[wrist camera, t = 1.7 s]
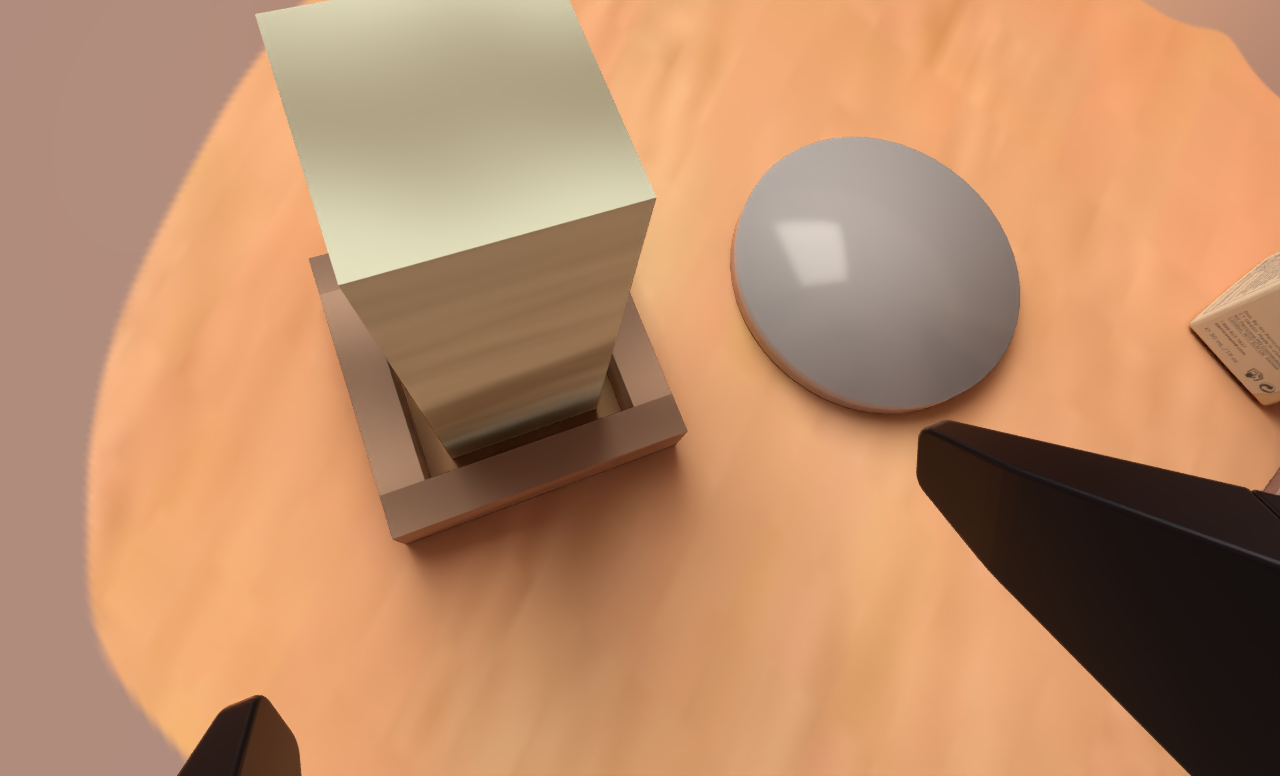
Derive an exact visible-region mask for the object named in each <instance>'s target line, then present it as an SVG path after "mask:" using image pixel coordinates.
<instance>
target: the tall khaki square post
mask: <svg viewBox="0 0 1280 776" xmlns="http://www.w3.org/2000/svg"><path fill="white" fill-rule="evenodd" d="M255 16H256V19H257V22H258V25H259V29H260V32H261V35H262V38H263V42H264V45H265V48H266V51H267V55H268V58H269V61H270V64H271V68H272V71H273V74H274V78H275V81H276V84H277V87H278V91H279V94H280V97H281V100H282V104H283V107H284V110H285V113H286V117H287V120H288V123H289V126H290V130H291V133H292V136H293V139H294V143H295V146H296V149H297V152H298V156H299V159H300V162H301V165H302V169H303V172H304V175H305V179H306V182H307V185H308V188H309V192H310V195H311V198H312V201H313V205H314V208H315V211H316V214H317V218H318V221H319V224H320V227H321V231H322V234H323V237H324V240H325V244H326V247H327V250H328V253H329V257H330V260H331V263H332V266H333V270H334V273H335V276H336V279H337V283H338V286H339V287H340V289H341V290H342V292H343V293H344V295H345V296H346V298H347V299H348V301H349V302H350V304H351V305H352V307H353V308H354V310H355V312H356V313H357V315H358V316H359V318H360V319H361V321H362V322H363V324H364V325H365V327H366V328H367V330H368V331H369V333H370V334H371V336H372V337H373V339H374V340H375V342H376V344H377V345H378V347H379V348H380V350H381V351H382V353H383V354H384V356H385V357H386V359H387V360H388V362H389V363H390V365H391V366H392V368H393V369H394V371H395V372H396V374H397V376H398V377H399V379H400V380H401V382H402V383H403V385H404V386H405V388H406V389H407V391H408V392H409V394H410V395H411V397H412V398H413V400H414V401H415V403H416V404H417V406H418V408H419V409H420V411H421V412H422V414H423V415H424V417H425V418H426V420H427V421H428V423H429V424H430V426H431V427H432V429H433V430H434V432H435V433H436V435H437V436H438V438H439V440H440V441H441V443H442V444H443V446H444V447H445V449H446V450H447V452H448V453H449V455H450V456H451V458H452V459H453V458H456V457H458V456H461V455H464V454H467V453H470V452H473V451H476V450H479V449H482V448H484V447H487V446H490V445H493V444H496V443H499V442H502V441H505V440H508V439H511V438H513V437H516V436H519V435H522V434H525V433H528V432H531V431H534V430H537V429H539V428H542V427H545V426H548V425H551V424H554V423H557V422H560V421H563V420H565V419H568V418H571V417H574V416H577V415H580V414H583V413H586V412H589V411H591V410H594V409H596V408H597V405H598V401H599V398H600V394H601V391H602V387H603V383H604V380H605V376H606V373H607V369H608V366H609V362H610V359H611V355H612V352H613V348H614V345H615V341H616V338H617V334H618V331H619V327H620V324H621V320H622V317H623V313H624V310H625V306H626V303H627V299H628V296H629V292H630V289H631V285H632V282H633V278H634V274H635V271H636V267H637V264H638V260H639V257H640V253H641V250H642V246H643V243H644V239H645V236H646V232H647V229H648V225H649V222H650V218H651V215H652V211H653V208H654V204H655V201H656V195H655V193H654V191H653V189H652V186H651V184H650V182H649V179H648V177H647V175H646V173H645V170H644V168H643V166H642V164H641V161H640V159H639V157H638V155H637V152H636V150H635V148H634V146H633V143H632V141H631V139H630V136H629V134H628V132H627V130H626V127H625V125H624V123H623V121H622V118H621V116H620V114H619V112H618V109H617V107H616V105H615V103H614V100H613V98H612V96H611V93H610V91H609V89H608V87H607V84H606V82H605V80H604V78H603V75H602V73H601V71H600V69H599V66H598V64H597V62H596V60H595V57H594V55H593V53H592V51H591V48H590V46H589V44H588V41H587V39H586V37H585V35H584V32H583V30H582V28H581V26H580V23H579V21H578V19H577V17H576V14H575V12H574V10H573V8H572V5H571V3H570V1H569V0H330V1H324V2H319V3H313V4H308V5H302V6H297V7H291V8H286V9H280V10H275V11H270V12H264V13H259V14H255Z"/></svg>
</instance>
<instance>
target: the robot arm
mask: <svg viewBox="0 0 1280 776" xmlns="http://www.w3.org/2000/svg"><path fill="white" fill-rule="evenodd" d="M916 475H917V479H918V482H919V485H920V486H921V488H922V490H923V491H924V492H925V494H926V495H927V496H928V497H929V499H930V500H931V501H932V502H933V504H934V505H935V506H936V507H937V508H938V510H939V511H940V512H941V513H942V515H943V516H944V517H945V518H946V520H947V521H948V522H949V523H950V524H951V526H952V527H953V528H954V529H955V531H956V532H957V533H958V534H959V536H960V537H961V538H962V539H963V540H964V542H965V543H966V544H967V545H968V547H969V548H970V549H971V550H972V552H973V553H974V554H975V555H976V556H977V558H978V559H979V560H980V561H981V562H982V563H983V565H984V566H985V567H986V568H987V569H988V570H989V571H990V573H991V574H992V575H993V576H994V577H995V578H996V579H997V580H998V581H999V582H1000V583H1001V584H1002V585H1003V586H1004V587H1005V588H1006V589H1007V590H1008V591H1009V592H1010V593H1011V594H1012V595H1013V596H1014V597H1015V598H1016V599H1017V600H1018V601H1019V602H1020V603H1021V604H1022V605H1023V606H1024V608H1025V609H1026V610H1027V611H1028V612H1029V613H1030V614H1031V615H1032V616H1033V617H1034V618H1035V619H1036V620H1037V621H1038V622H1039V623H1040V624H1041V625H1042V626H1043V627H1044V628H1045V629H1046V630H1047V631H1048V632H1049V633H1050V634H1051V635H1052V636H1053V637H1054V638H1055V639H1056V640H1057V641H1058V642H1059V643H1060V644H1061V645H1062V646H1063V647H1064V648H1065V649H1066V650H1067V651H1068V652H1069V653H1070V654H1071V655H1072V656H1073V657H1074V658H1075V659H1076V660H1077V661H1078V662H1079V663H1080V664H1081V665H1082V666H1083V667H1084V668H1085V669H1086V670H1087V671H1088V672H1089V673H1090V674H1091V675H1092V676H1093V677H1094V678H1095V679H1096V680H1097V681H1098V682H1099V683H1100V684H1101V685H1102V686H1103V687H1104V688H1105V689H1106V690H1107V691H1108V692H1109V693H1110V694H1111V696H1112V697H1113V698H1114V699H1115V700H1116V701H1117V702H1118V703H1119V704H1120V705H1121V706H1122V707H1123V708H1124V709H1125V710H1126V711H1127V712H1128V713H1129V714H1130V715H1131V716H1132V717H1133V718H1134V719H1135V720H1136V721H1137V722H1138V723H1139V724H1140V725H1141V726H1142V727H1143V728H1144V729H1145V730H1146V731H1147V732H1148V733H1149V734H1150V735H1151V736H1152V737H1153V738H1154V739H1155V740H1156V741H1157V742H1158V743H1159V744H1160V745H1161V746H1162V747H1163V748H1164V749H1165V750H1166V751H1167V752H1168V753H1169V754H1170V755H1171V756H1172V757H1173V758H1174V759H1175V760H1176V761H1177V762H1178V763H1179V764H1180V765H1181V766H1182V767H1183V768H1184V769H1185V770H1186V771H1187V772H1188V773H1189V774H1190V775H1191V776H1280V495H1276V494H1272V493H1268V492H1263V491H1259V490H1253V491H1250V490H1249V489H1247V488H1245V487H1241V486H1237V485H1232V484H1228V483H1223V482H1219V481H1215V480H1210V479H1206V478H1201V477H1197V476H1193V475H1188V474H1184V473H1179V472H1175V471H1171V470H1166V469H1162V468H1158V467H1153V466H1149V465H1144V464H1140V463H1136V462H1131V461H1127V460H1122V459H1118V458H1114V457H1109V456H1105V455H1100V454H1096V453H1092V452H1087V451H1083V450H1078V449H1074V448H1070V447H1065V446H1061V445H1057V444H1052V443H1048V442H1043V441H1039V440H1035V439H1030V438H1026V437H1021V436H1017V435H1013V434H1008V433H1004V432H999V431H995V430H991V429H986V428H982V427H977V426H973V425H969V424H964V423H960V422H956V421H951V420H945V421H941V422H938V423H936V424H933V425H931V426H928V427H926V428H924V429H923V430H921V432H920V434H919V437H918V450H917V468H916ZM177 776H301V764H300V754H299V748H298V744H297V741H296V739H295V736H294V734H293V733H292V731H291V730H290V729H289V727H288V726H287V724H286V723H285V722H284V720H283V719H282V718H281V716H280V715H279V713H278V712H277V711H276V709H275V708H274V706H273V705H272V704H271V702H270V701H269V700H268V699H267V698H266V697H264V696H263V695H255V696H252V697H250V698H247V699H245V700H242V701H240V702H237V703H235V704H232V705H230V706H227V707H226V708H224V709H223V710H222V711H221V712H220V713H219V714H218V715H217V716H216V718H215V719H214V721H213V722H212V724H211V725H210V727H209V728H208V730H207V731H206V733H205V734H204V736H203V737H202V739H201V741H200V742H199V744H198V745H197V747H196V748H195V750H194V751H193V753H192V754H191V756H190V757H189V759H188V760H187V762H186V763H185V765H184V766H183V768H182V769H181V771H180V772H179V774H178V775H177Z"/></svg>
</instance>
